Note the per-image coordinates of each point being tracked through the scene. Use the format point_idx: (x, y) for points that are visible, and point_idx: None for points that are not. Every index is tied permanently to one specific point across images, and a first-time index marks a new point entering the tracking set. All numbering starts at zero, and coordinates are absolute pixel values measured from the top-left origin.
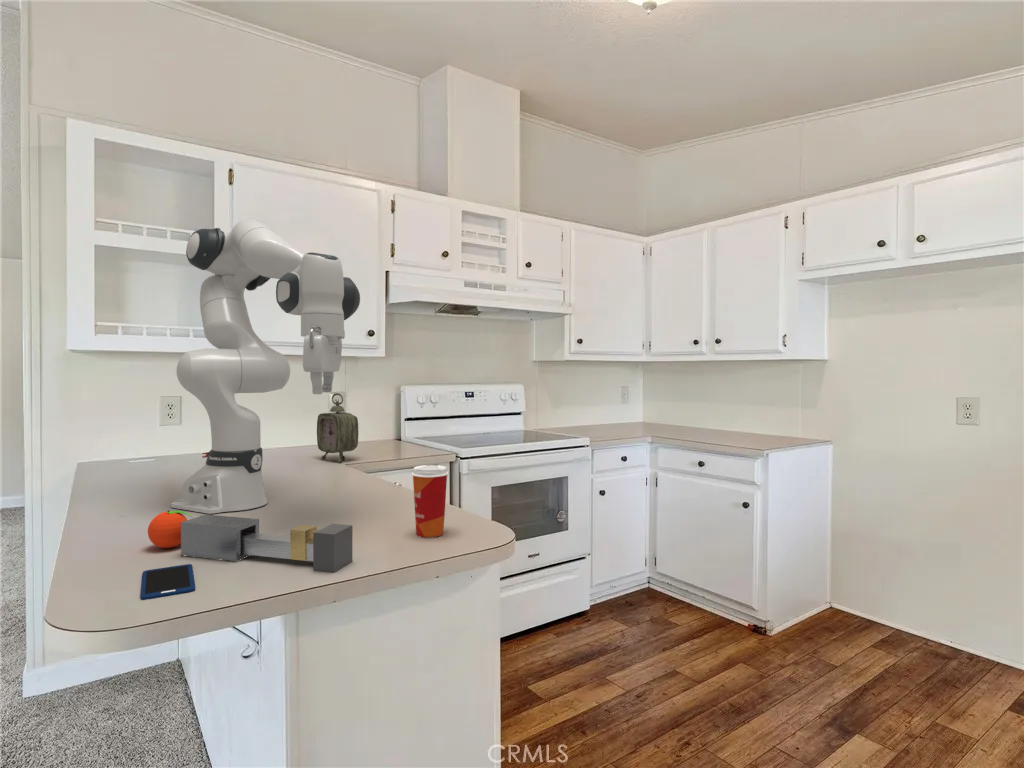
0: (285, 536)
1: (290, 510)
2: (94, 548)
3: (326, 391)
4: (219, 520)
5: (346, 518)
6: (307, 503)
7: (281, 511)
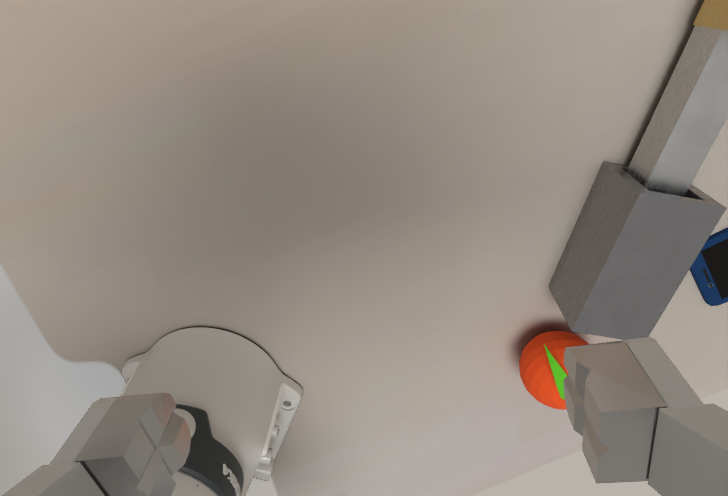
0: (699, 84)
1: (222, 253)
2: (545, 437)
3: (174, 421)
4: (640, 277)
5: (266, 63)
6: (138, 243)
7: (238, 269)
